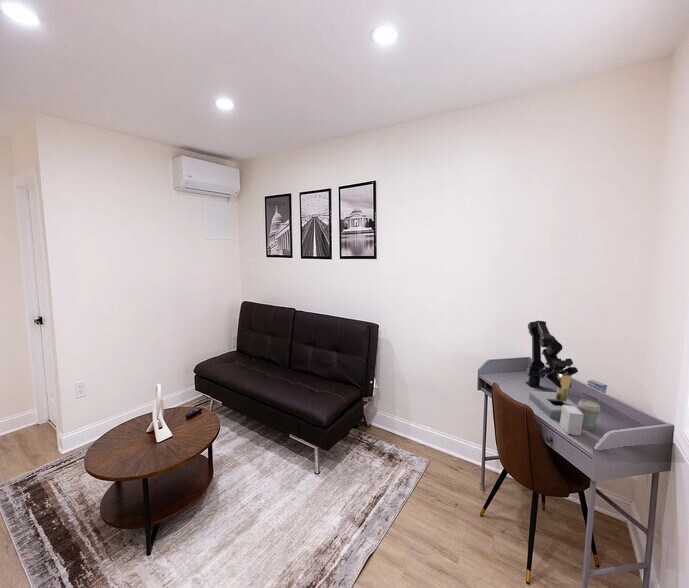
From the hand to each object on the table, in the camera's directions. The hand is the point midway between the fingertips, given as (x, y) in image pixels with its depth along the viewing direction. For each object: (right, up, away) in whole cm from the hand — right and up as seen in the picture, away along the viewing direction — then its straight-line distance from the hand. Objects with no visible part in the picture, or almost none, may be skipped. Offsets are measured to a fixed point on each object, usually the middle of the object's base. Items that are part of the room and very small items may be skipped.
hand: (565, 387), depth 164 cm
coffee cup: (+3, -16, -10) cm, 19 cm away
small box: (-7, -16, -14) cm, 22 cm away
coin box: (-2, -13, +6) cm, 14 cm away
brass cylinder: (0, -6, +2) cm, 7 cm away
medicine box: (+31, -11, +21) cm, 39 cm away
